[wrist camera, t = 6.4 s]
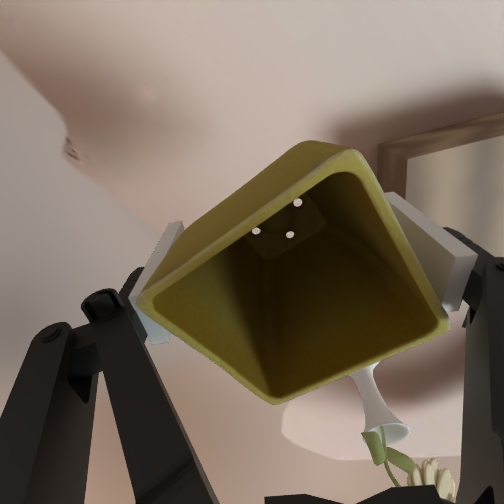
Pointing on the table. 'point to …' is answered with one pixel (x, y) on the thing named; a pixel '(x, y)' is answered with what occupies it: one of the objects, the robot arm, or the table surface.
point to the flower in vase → (395, 439)
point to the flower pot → (297, 277)
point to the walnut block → (452, 177)
